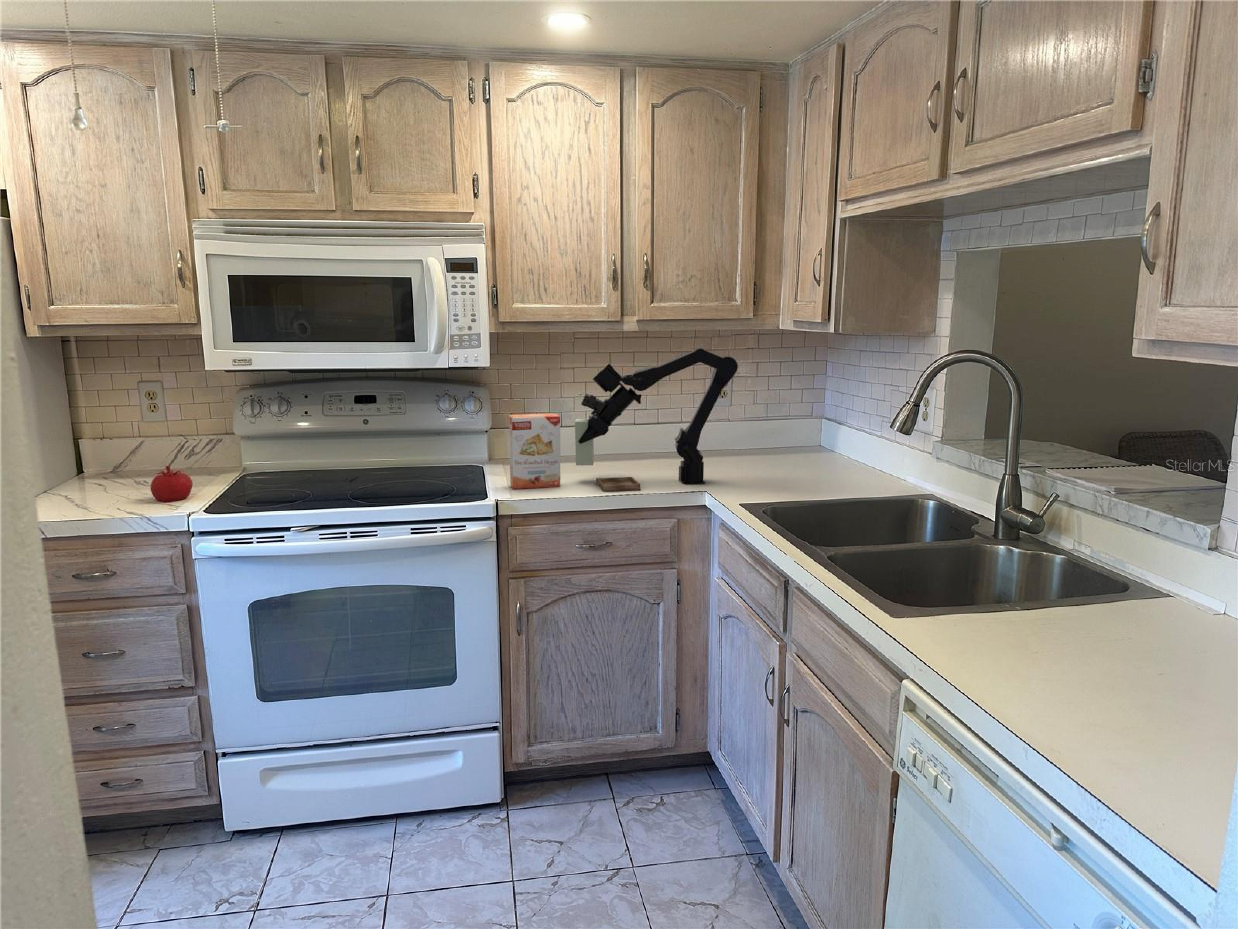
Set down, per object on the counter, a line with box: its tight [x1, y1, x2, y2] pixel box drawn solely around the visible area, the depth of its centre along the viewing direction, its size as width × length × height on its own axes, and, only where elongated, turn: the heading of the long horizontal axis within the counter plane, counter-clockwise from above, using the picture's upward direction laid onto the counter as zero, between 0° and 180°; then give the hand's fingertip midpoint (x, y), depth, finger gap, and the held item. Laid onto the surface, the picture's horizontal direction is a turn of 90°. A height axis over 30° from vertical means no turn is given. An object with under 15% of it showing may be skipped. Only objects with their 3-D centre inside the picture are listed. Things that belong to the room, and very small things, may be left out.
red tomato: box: [150, 465, 194, 503], centre depth 222 cm, size 10×10×9 cm
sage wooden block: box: [574, 418, 595, 466], centre depth 242 cm, size 5×5×13 cm
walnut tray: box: [595, 476, 641, 493], centre depth 237 cm, size 11×11×2 cm
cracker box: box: [508, 413, 561, 490], centre depth 237 cm, size 14×6×21 cm, turn 105°
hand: (579, 441), depth 242 cm, fingers closed on sage wooden block, 5 cm apart
